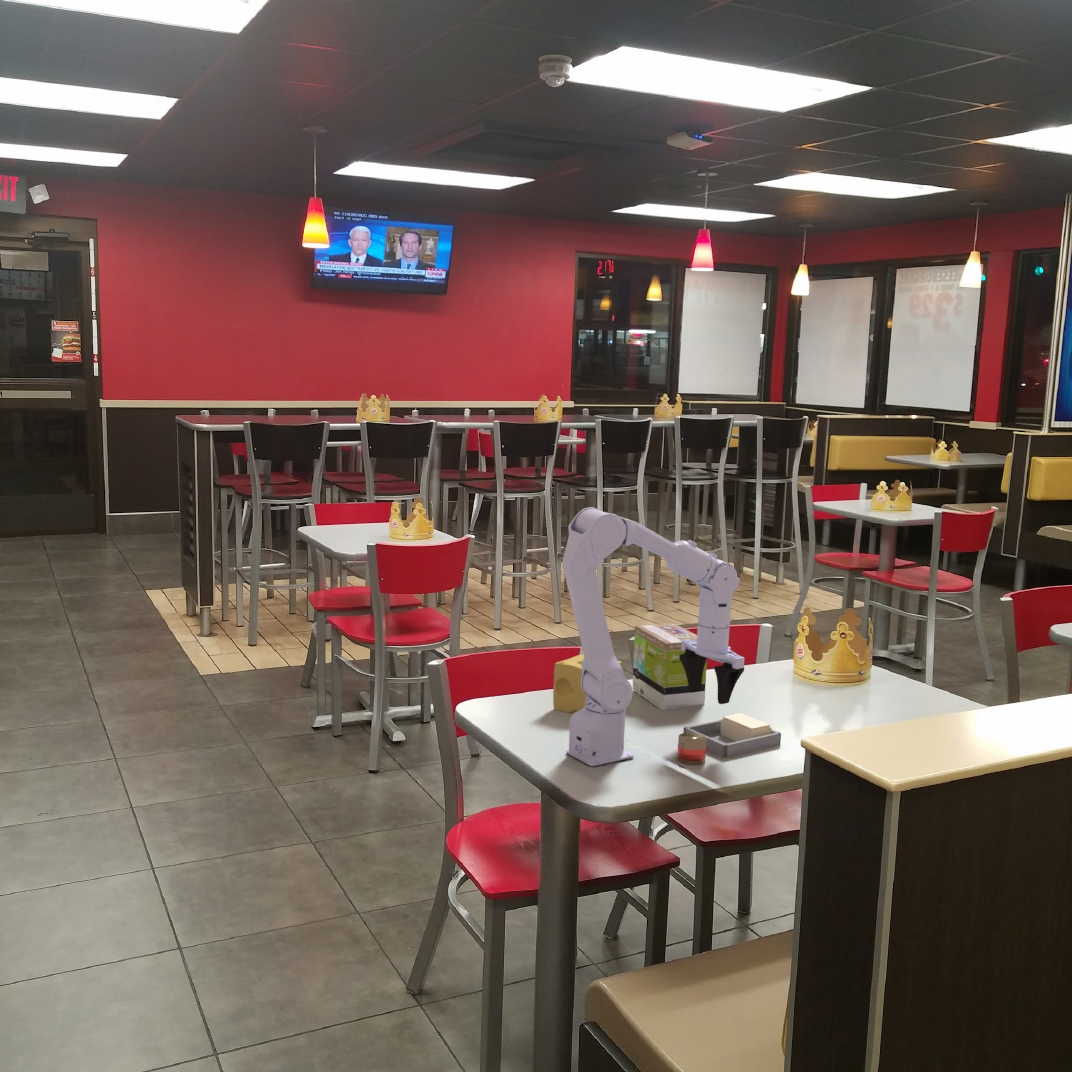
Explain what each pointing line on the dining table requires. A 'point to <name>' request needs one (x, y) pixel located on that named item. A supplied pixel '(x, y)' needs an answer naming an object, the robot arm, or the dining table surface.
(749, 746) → the tray
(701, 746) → the tin
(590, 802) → the dining table surface
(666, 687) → the tea box
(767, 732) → the cream rectangular block
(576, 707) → the cheese
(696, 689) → the robot arm
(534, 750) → the dining table surface
